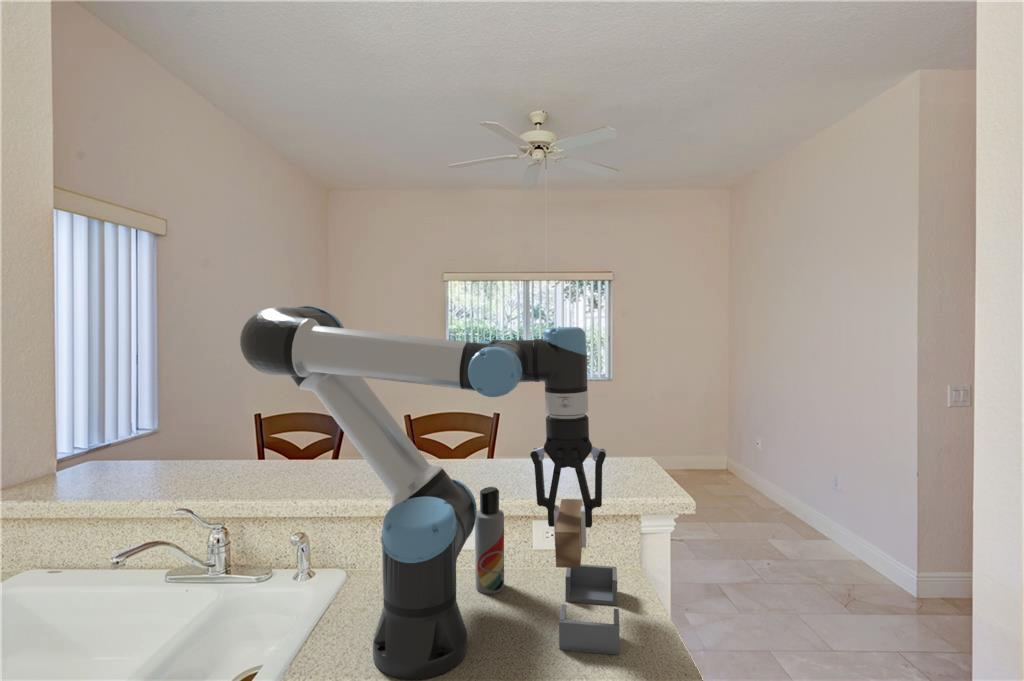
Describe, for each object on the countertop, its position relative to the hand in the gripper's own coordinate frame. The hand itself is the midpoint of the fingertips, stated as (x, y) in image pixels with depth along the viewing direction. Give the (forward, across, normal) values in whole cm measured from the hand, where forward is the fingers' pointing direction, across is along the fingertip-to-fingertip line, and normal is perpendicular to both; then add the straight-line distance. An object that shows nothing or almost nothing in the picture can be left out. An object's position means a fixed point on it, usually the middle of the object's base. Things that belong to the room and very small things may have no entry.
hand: (570, 543), depth 102 cm
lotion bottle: (+13, -17, +8) cm, 23 cm away
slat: (+1, 0, 0) cm, 1 cm away
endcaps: (+13, +3, 0) cm, 14 cm away
